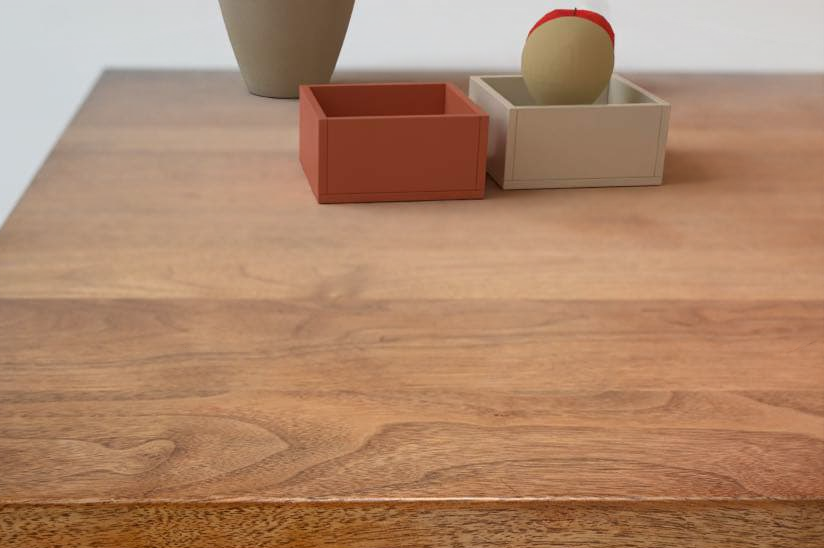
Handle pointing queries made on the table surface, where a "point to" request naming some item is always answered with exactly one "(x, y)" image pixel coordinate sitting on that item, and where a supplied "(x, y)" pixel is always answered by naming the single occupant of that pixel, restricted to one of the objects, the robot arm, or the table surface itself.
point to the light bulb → (567, 62)
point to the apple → (581, 14)
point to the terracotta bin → (392, 142)
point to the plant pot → (286, 42)
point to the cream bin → (572, 136)
